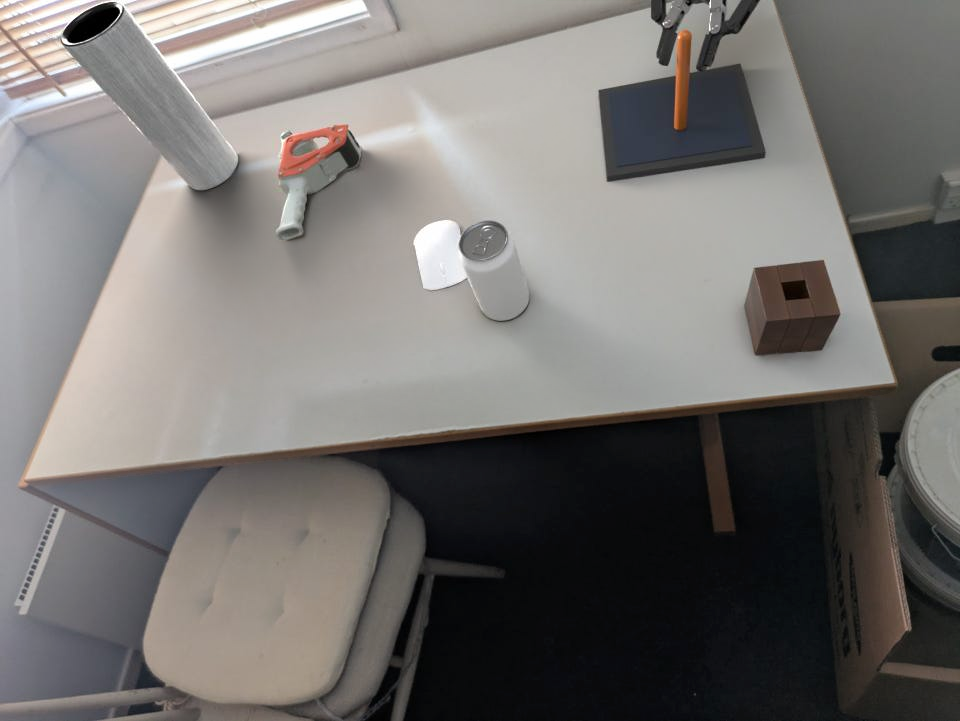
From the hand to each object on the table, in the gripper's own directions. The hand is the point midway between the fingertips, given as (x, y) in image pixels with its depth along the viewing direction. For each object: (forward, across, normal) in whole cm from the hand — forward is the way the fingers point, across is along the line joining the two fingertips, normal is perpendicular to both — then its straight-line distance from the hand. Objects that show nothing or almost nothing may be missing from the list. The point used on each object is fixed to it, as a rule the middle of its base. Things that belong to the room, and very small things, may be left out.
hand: (681, 66), depth 72 cm
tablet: (+6, -1, +9) cm, 11 cm away
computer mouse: (+29, -21, -13) cm, 38 cm away
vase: (+28, -72, -13) cm, 78 cm away
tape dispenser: (+26, -50, -10) cm, 57 cm away
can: (+31, -9, -16) cm, 36 cm away
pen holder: (+25, +22, -9) cm, 34 cm away
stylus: (+6, 0, +8) cm, 10 cm away
